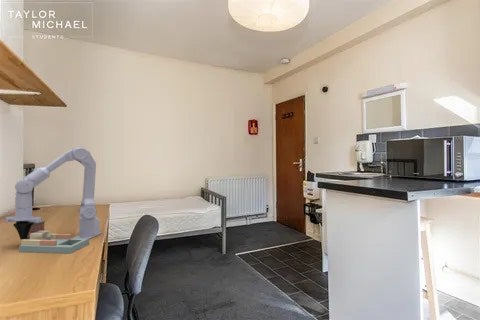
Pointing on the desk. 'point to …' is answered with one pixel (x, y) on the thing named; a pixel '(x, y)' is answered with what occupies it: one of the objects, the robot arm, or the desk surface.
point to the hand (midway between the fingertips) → (23, 238)
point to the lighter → (36, 228)
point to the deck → (54, 244)
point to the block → (40, 235)
